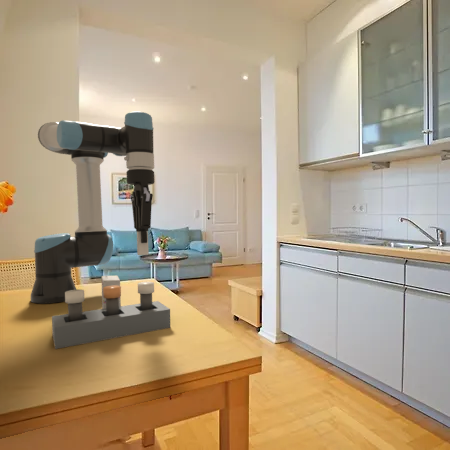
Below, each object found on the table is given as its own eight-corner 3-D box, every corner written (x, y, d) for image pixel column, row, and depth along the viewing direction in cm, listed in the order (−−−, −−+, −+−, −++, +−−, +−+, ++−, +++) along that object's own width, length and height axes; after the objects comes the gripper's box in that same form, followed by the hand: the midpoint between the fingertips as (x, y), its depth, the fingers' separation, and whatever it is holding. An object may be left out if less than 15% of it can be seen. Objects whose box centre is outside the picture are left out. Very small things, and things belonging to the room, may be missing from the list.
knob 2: (136, 309, 96) (135, 282, 96) (151, 307, 98) (151, 281, 98) (140, 313, 92) (140, 285, 92) (156, 310, 95) (156, 283, 94)
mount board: (52, 335, 89) (51, 316, 88) (158, 317, 102) (158, 300, 102) (55, 348, 80) (54, 327, 80) (170, 327, 94) (170, 309, 94)
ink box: (121, 319, 101) (120, 279, 101) (103, 321, 100) (102, 280, 99) (118, 311, 109) (117, 274, 109) (101, 313, 107) (100, 275, 107)
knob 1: (65, 320, 87) (64, 290, 87) (83, 317, 90) (82, 288, 89) (66, 324, 84) (65, 294, 83) (86, 321, 86) (85, 292, 85)
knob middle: (102, 314, 92) (101, 286, 92) (119, 311, 94) (118, 284, 94) (105, 318, 88) (104, 289, 88) (123, 316, 90) (122, 287, 90)
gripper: (121, 172, 100) (123, 253, 101) (133, 166, 89) (136, 257, 90) (146, 173, 104) (149, 251, 105) (161, 167, 93) (163, 255, 93)
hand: (143, 254), depth 97 cm, fingers closed
